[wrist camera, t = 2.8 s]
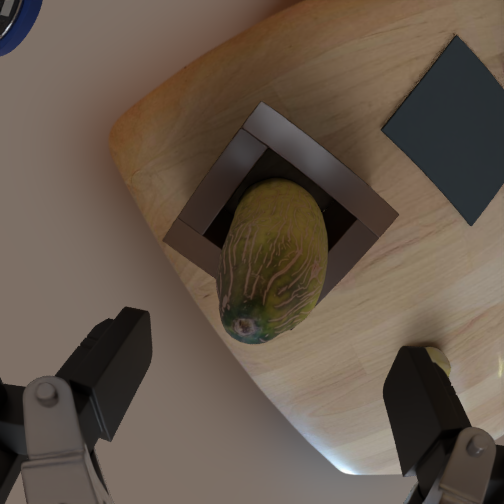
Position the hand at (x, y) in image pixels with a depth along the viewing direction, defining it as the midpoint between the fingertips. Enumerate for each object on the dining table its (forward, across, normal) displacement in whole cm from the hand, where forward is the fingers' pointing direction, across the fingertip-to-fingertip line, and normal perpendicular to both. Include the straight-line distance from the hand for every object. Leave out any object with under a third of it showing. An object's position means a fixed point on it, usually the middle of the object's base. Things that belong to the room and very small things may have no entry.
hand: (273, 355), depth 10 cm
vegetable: (+22, 0, 0) cm, 22 cm away
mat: (+21, -18, -11) cm, 30 cm away
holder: (+21, 0, 0) cm, 21 cm away
